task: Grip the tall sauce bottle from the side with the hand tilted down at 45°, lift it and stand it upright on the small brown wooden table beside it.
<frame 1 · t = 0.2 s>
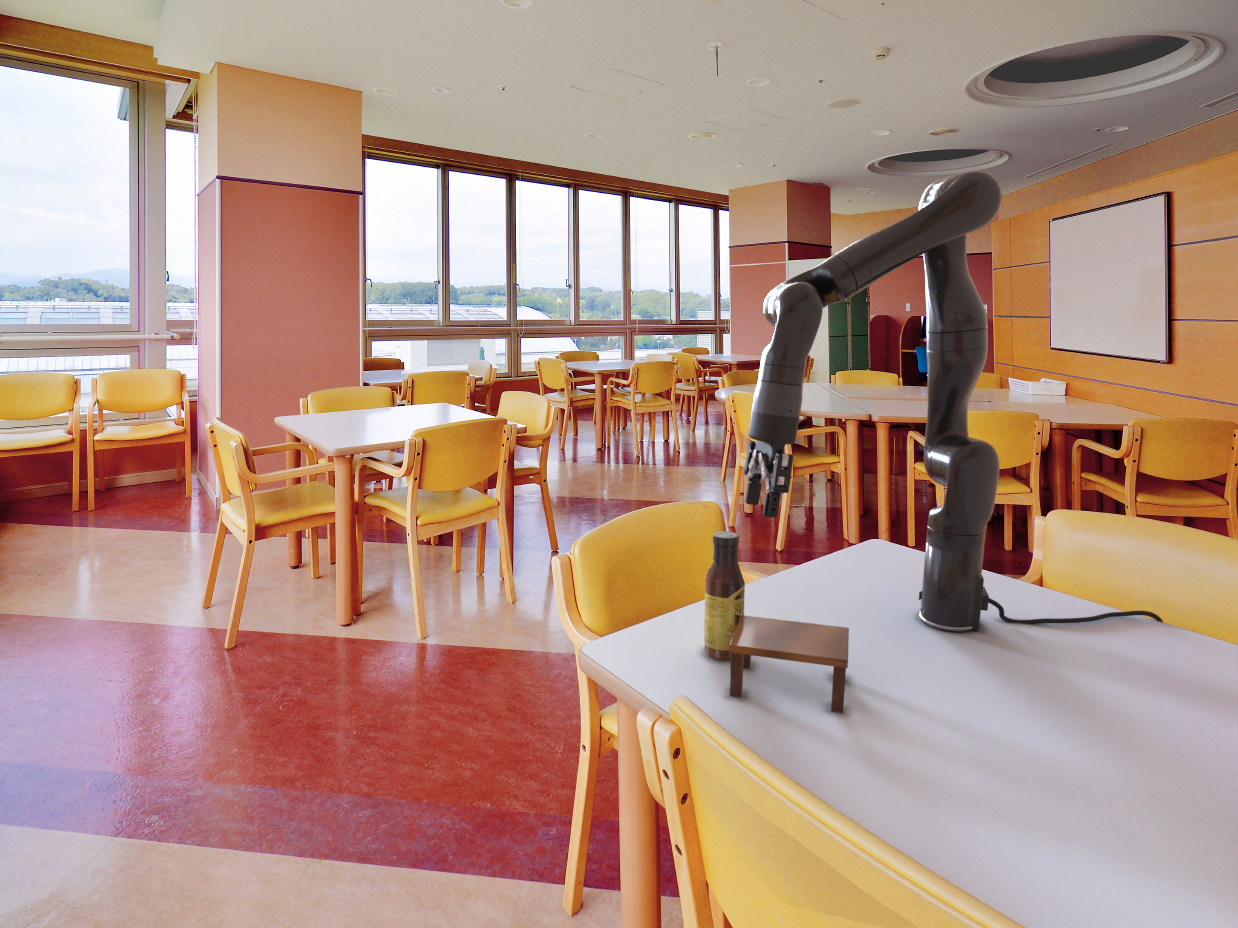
hand: (760, 510, 119), 23 cm above the table, tool pointing down, fingers open, 8 cm apart
sauce bottle: (723, 654, 118), on the table
small brown wooden table: (788, 686, 107), on the table
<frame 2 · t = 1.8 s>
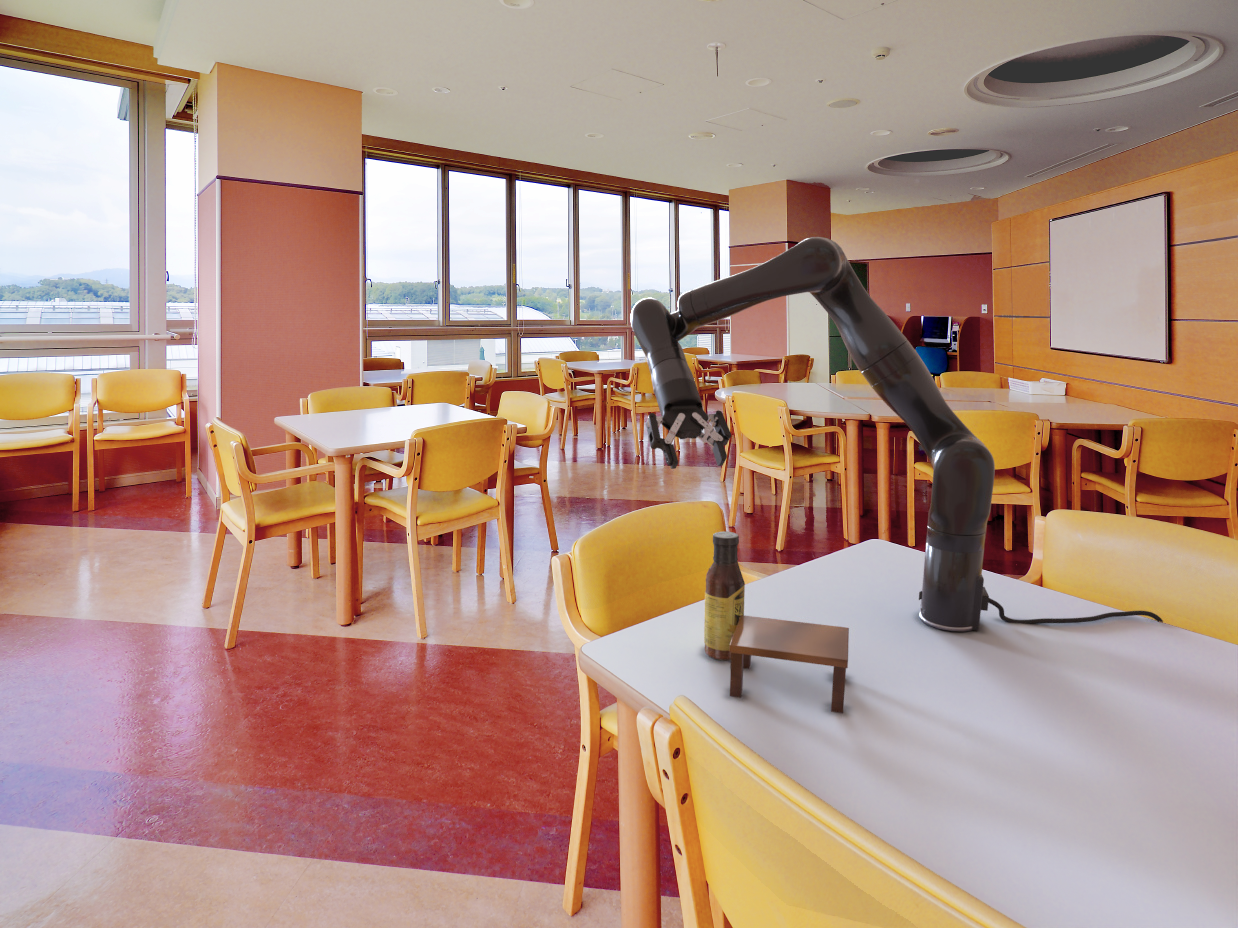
hand: (698, 464, 123), 29 cm above the table, tool tilted 45°, fingers open, 8 cm apart
nothing on the table moved.
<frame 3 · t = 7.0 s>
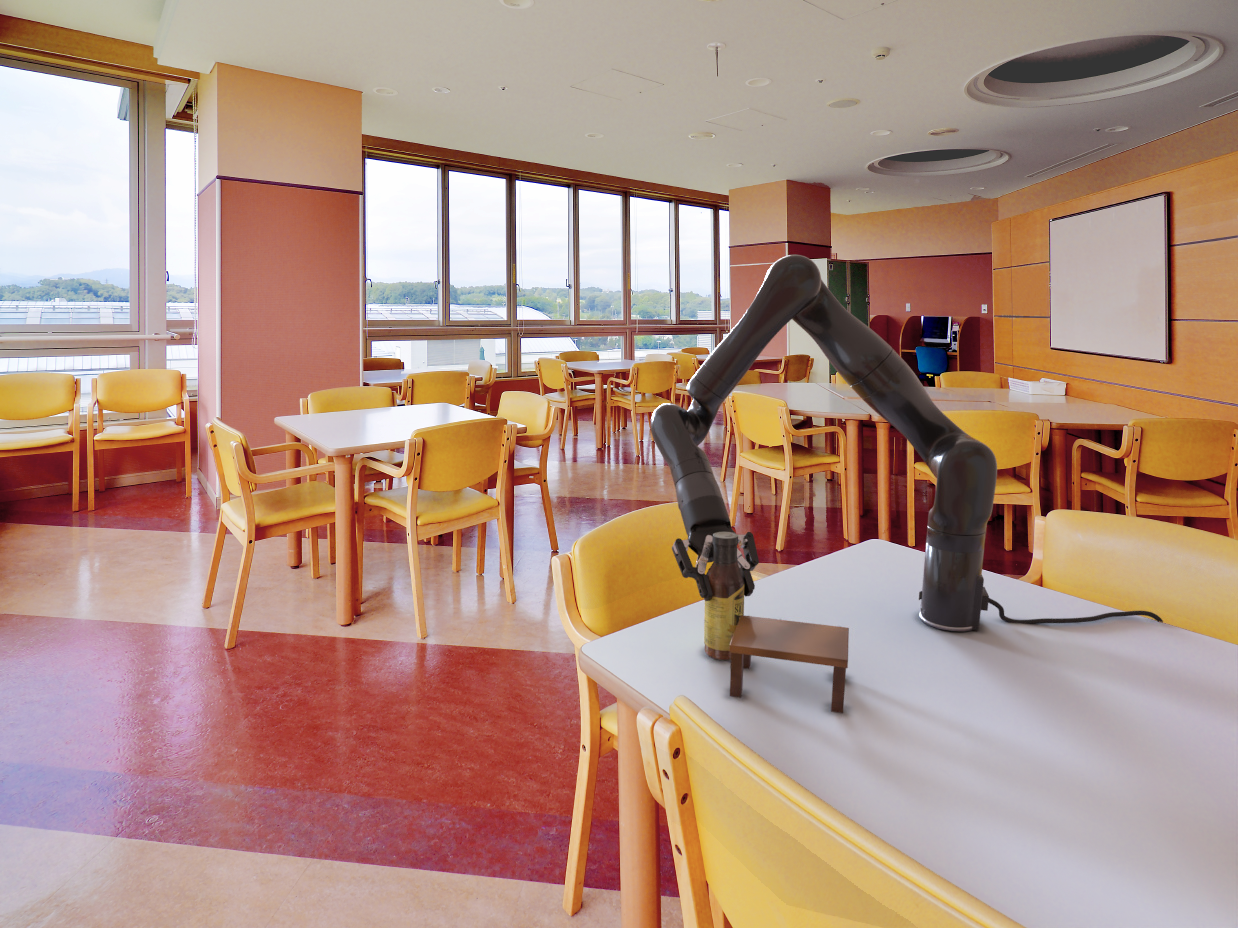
hand: (729, 596, 115), 10 cm above the table, tool tilted 45°, fingers closed on sauce bottle, 6 cm apart
sauce bottle: (723, 654, 118), on the table, touching gripper
when the fingers open (18 cm above the table, at t = 13.0 s): sauce bottle stays where it is, resting on small brown wooden table.
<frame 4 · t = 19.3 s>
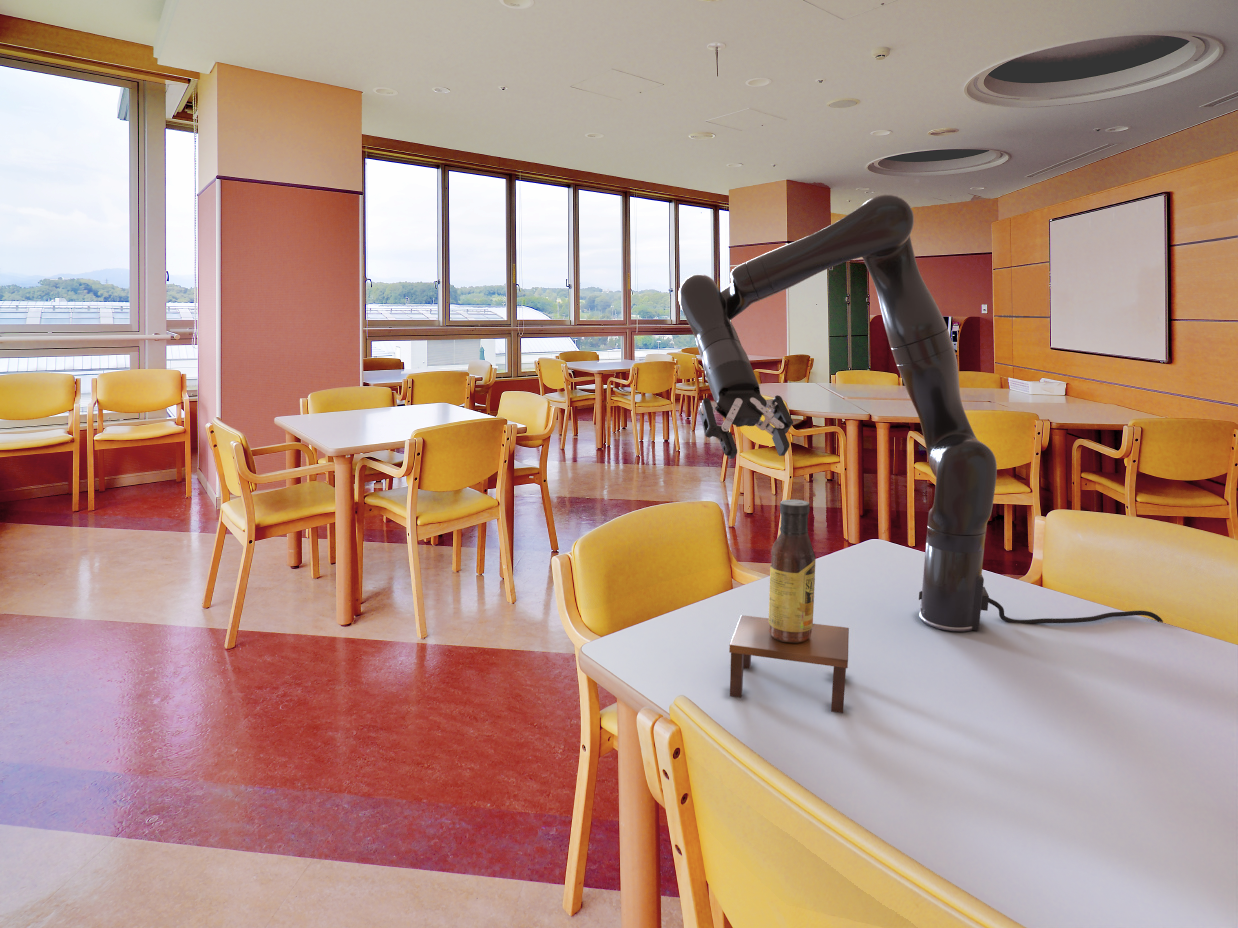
hand: (759, 454, 112), 33 cm above the table, tool tilted 45°, fingers open, 8 cm apart
sauce bottle: (789, 636, 106), point 8 cm above the table, touching small brown wooden table
at the end: sauce bottle inside the target area on the small brown wooden table (0.1 cm from its centre), point 7.8 cm above the small brown wooden table's base; sauce bottle tilted 0°; the gripper is holding nothing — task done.
